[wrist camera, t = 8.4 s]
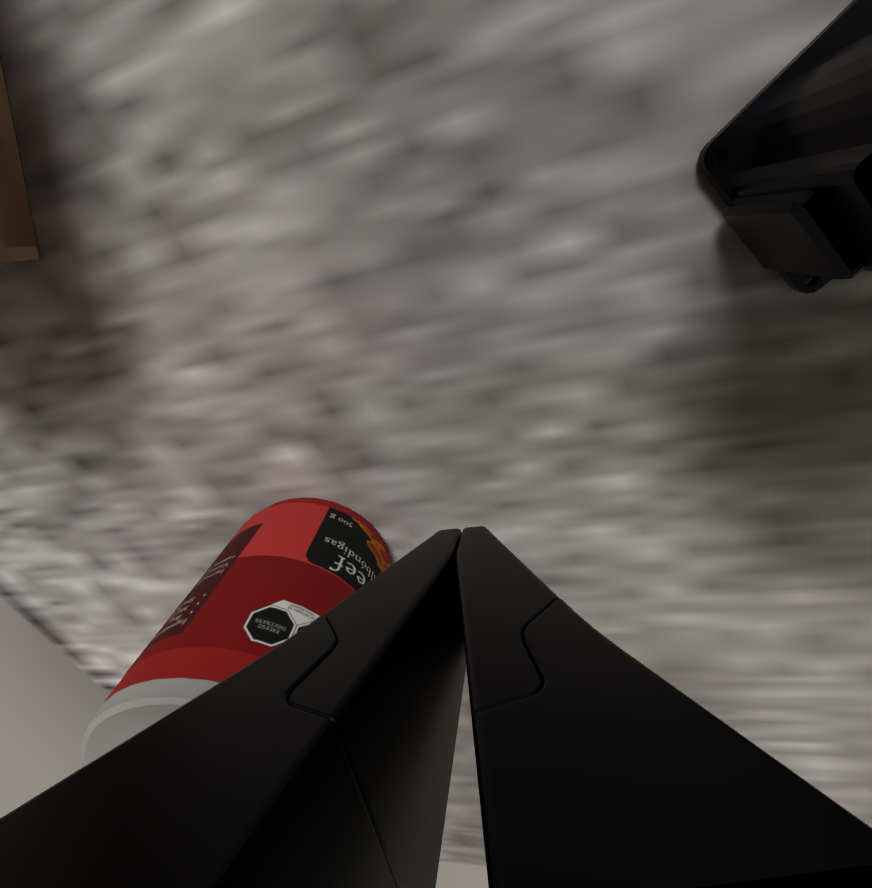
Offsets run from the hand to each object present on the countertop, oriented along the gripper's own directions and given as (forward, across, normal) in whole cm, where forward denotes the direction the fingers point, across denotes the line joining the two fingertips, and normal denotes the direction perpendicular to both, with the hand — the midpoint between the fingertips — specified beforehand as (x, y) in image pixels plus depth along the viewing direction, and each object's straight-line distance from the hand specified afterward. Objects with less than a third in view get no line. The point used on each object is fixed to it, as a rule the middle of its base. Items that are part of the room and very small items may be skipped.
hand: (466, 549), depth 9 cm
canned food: (+12, -9, -8) cm, 17 cm away
